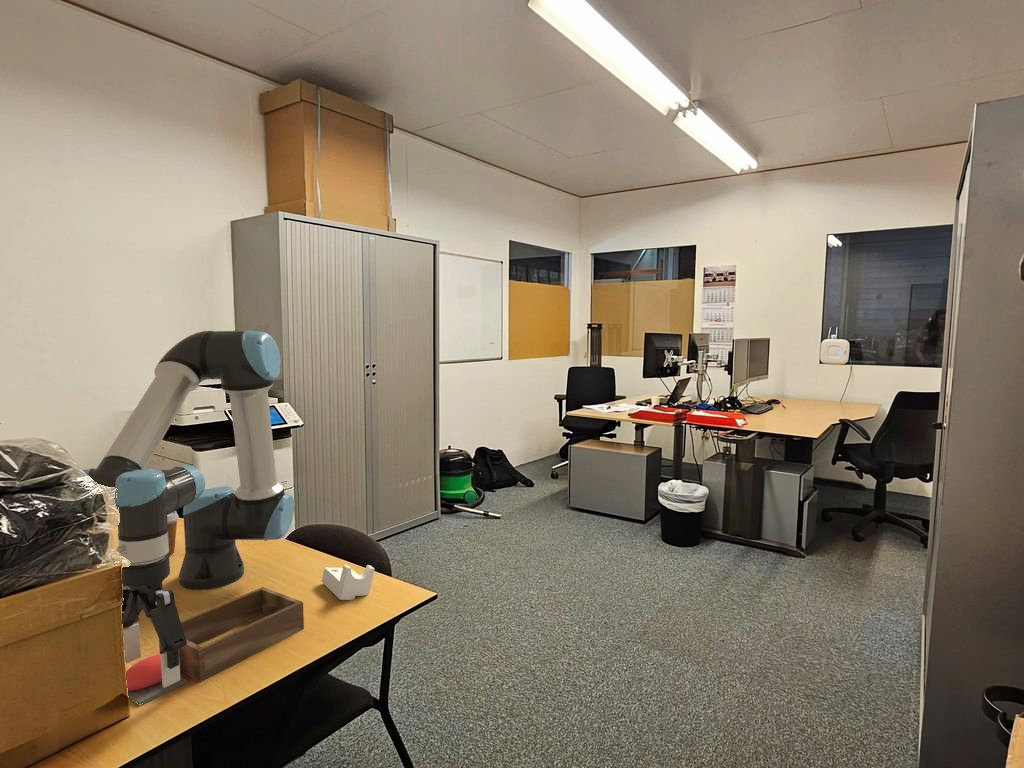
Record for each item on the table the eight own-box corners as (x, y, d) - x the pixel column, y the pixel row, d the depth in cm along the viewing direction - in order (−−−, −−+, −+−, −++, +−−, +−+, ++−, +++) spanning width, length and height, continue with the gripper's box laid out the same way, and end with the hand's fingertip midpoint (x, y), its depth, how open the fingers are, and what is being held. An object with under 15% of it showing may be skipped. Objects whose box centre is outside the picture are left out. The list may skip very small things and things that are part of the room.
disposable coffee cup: (187, 553, 171) (185, 512, 170) (152, 564, 163) (150, 521, 162) (169, 546, 176) (167, 507, 175) (135, 557, 168) (133, 516, 167)
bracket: (367, 599, 144) (374, 568, 145) (340, 599, 140) (347, 568, 141) (347, 581, 155) (354, 552, 155) (321, 581, 150) (328, 551, 151)
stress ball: (177, 693, 106) (188, 655, 109) (121, 692, 101) (133, 652, 104) (171, 690, 110) (181, 653, 113) (116, 689, 105) (128, 650, 108)
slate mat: (117, 690, 106) (116, 687, 106) (163, 669, 113) (162, 666, 113) (139, 705, 102) (139, 702, 102) (186, 682, 108) (186, 679, 108)
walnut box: (160, 659, 116) (158, 630, 116) (263, 612, 135) (262, 586, 135) (200, 681, 109) (198, 650, 108) (303, 628, 128) (303, 602, 127)
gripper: (88, 550, 108) (95, 660, 110) (159, 581, 95) (166, 705, 97) (132, 538, 115) (138, 642, 117) (205, 565, 102) (210, 682, 103)
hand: (151, 671), depth 107 cm, fingers open, 13 cm apart
